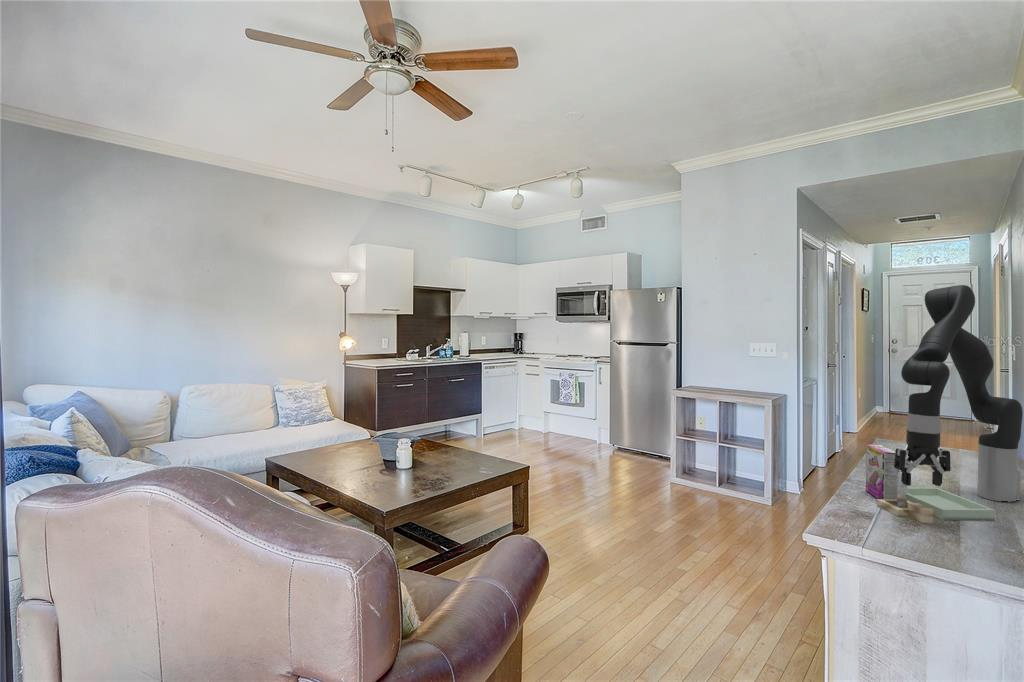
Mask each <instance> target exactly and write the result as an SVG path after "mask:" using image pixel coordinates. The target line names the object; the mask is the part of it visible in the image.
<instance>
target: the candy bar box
mask: <svg viewBox="0 0 1024 682" xmlns="http://www.w3.org/2000/svg"><path fill="white" fill-rule="evenodd" d="M865 446H866V447H865V451H866V453H865V492H867V493H868V494H869V493H870V494H869V495H871V496H872V495H873V496H872V497H873V498H875V497H876V498H875V499H897V481H898V471H900V470H899V469H896V468H894V462H895V451H896V450H893V449H890V448H889V447H886V446H884V445H882V444H866V445H865Z"/></svg>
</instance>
